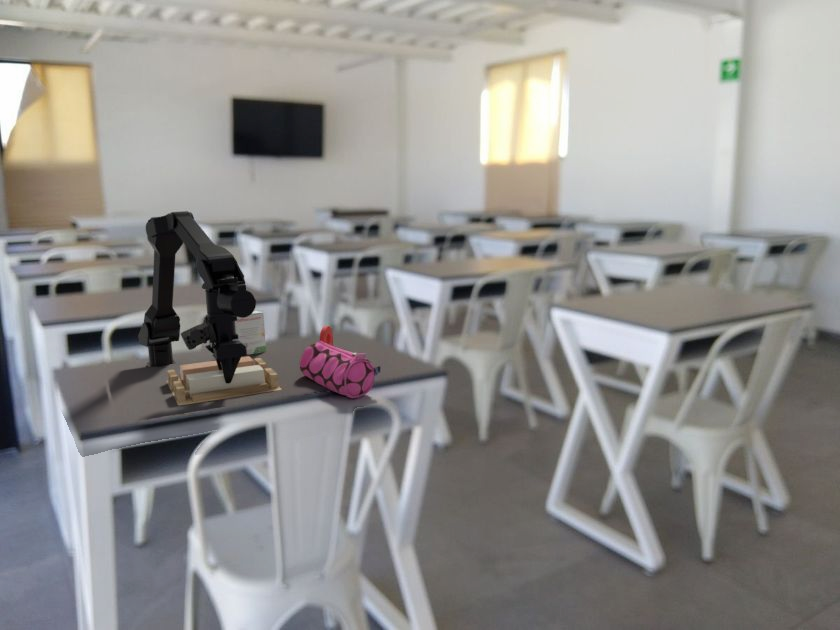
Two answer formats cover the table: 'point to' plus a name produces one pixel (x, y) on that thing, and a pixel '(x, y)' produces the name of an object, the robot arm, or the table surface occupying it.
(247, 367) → the long ivory plank
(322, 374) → the pencil case
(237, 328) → the ink box
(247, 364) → the fired brick
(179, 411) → the table surface
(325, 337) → the bracket
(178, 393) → the rack
